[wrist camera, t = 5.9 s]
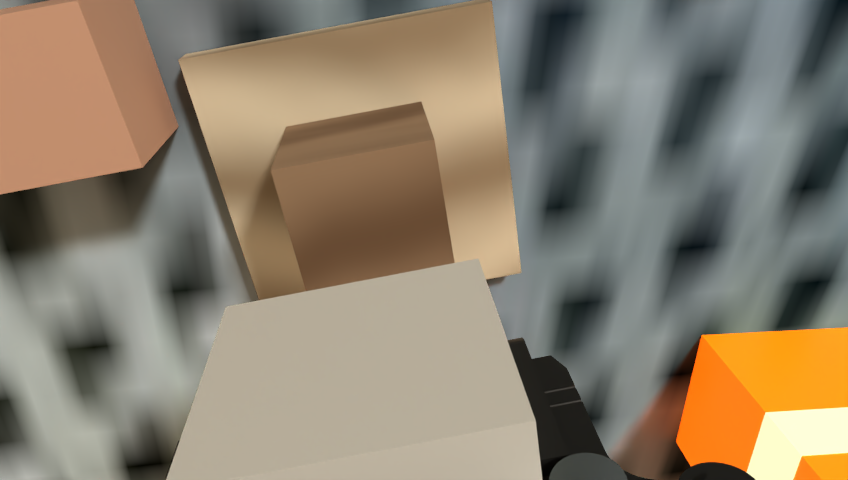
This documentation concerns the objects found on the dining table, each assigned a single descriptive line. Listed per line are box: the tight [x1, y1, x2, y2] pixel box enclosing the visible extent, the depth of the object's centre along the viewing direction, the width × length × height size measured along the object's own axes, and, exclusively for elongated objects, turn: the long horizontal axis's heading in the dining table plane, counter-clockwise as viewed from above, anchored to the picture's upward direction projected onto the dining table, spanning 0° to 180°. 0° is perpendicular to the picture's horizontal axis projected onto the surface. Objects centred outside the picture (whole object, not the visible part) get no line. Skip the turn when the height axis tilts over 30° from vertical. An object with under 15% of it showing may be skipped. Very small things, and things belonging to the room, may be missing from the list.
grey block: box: [166, 259, 542, 480], centre depth 13 cm, size 6×6×5 cm
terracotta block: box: [0, 0, 178, 194], centre depth 23 cm, size 6×6×5 cm
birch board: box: [178, 0, 521, 300], centre depth 27 cm, size 12×12×1 cm
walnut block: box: [271, 102, 455, 291], centre depth 25 cm, size 6×6×5 cm
